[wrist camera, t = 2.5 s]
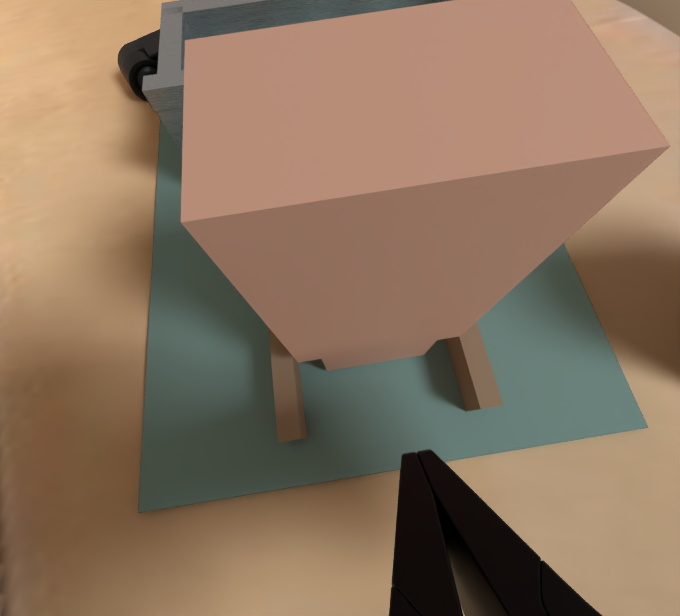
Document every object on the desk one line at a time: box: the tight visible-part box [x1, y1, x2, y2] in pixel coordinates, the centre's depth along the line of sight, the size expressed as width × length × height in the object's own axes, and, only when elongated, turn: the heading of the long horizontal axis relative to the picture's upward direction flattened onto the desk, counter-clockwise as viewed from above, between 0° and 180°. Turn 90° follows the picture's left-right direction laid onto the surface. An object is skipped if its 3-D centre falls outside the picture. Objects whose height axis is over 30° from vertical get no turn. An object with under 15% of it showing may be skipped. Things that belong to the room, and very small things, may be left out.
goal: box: [142, 0, 452, 153], centre depth 20 cm, size 9×17×7 cm, turn 99°
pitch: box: [138, 119, 648, 513], centre depth 19 cm, size 28×24×2 cm
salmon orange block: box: [181, 0, 670, 371], centre depth 11 cm, size 4×7×13 cm, turn 99°
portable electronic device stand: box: [118, 29, 160, 102], centre depth 26 cm, size 18×3×3 cm, turn 123°
